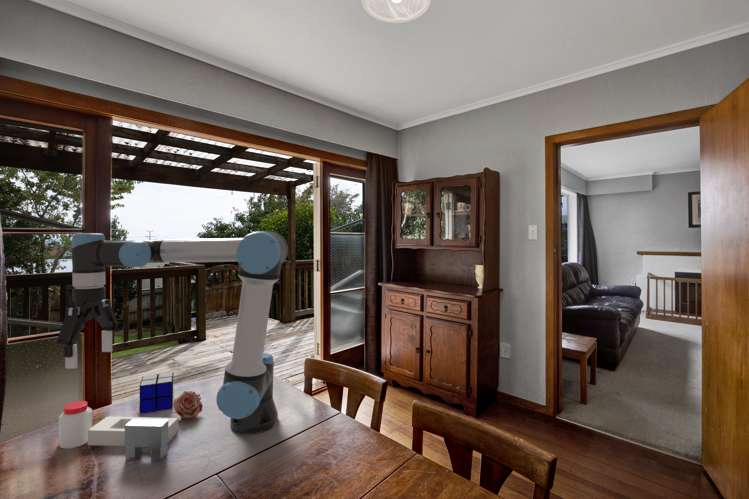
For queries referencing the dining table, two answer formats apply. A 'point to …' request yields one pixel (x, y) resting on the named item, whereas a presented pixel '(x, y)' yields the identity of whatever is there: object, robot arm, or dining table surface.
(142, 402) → the puzzle cube
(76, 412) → the pill bottle
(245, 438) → the dining table surface
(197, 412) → the flower
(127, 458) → the gray rectangular block
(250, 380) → the robot arm
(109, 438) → the block with rectangular holes
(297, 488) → the dining table surface
